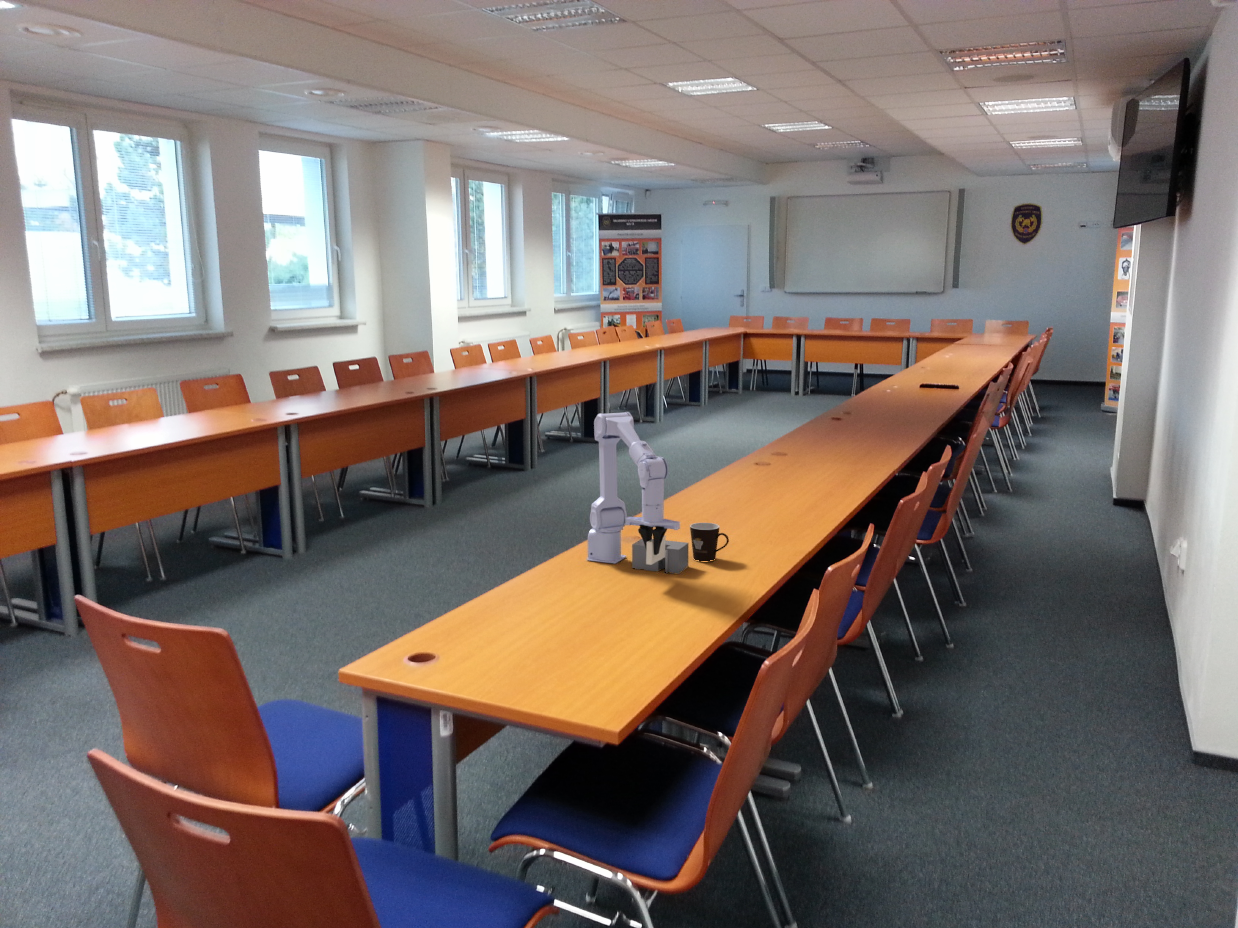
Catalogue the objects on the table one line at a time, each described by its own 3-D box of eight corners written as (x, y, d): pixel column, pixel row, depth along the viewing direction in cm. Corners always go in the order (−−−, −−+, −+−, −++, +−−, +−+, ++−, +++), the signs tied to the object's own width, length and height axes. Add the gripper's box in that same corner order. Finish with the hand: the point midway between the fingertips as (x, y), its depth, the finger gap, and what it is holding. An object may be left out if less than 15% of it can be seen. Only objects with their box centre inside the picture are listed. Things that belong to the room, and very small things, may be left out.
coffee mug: (684, 557, 274) (684, 524, 273) (708, 553, 278) (709, 521, 276) (705, 567, 264) (705, 533, 262) (730, 563, 268) (731, 529, 266)
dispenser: (631, 569, 263) (631, 545, 262) (642, 561, 271) (642, 537, 270) (677, 574, 257) (678, 550, 256) (688, 566, 265) (688, 542, 264)
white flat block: (646, 564, 245) (646, 541, 244) (659, 556, 254) (660, 534, 253) (651, 564, 244) (651, 542, 244) (665, 557, 253) (665, 535, 253)
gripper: (621, 504, 244) (621, 554, 246) (673, 509, 238) (673, 560, 240) (631, 499, 250) (632, 547, 252) (682, 503, 244) (682, 553, 247)
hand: (652, 553), depth 247 cm, fingers closed on white flat block, 1 cm apart
